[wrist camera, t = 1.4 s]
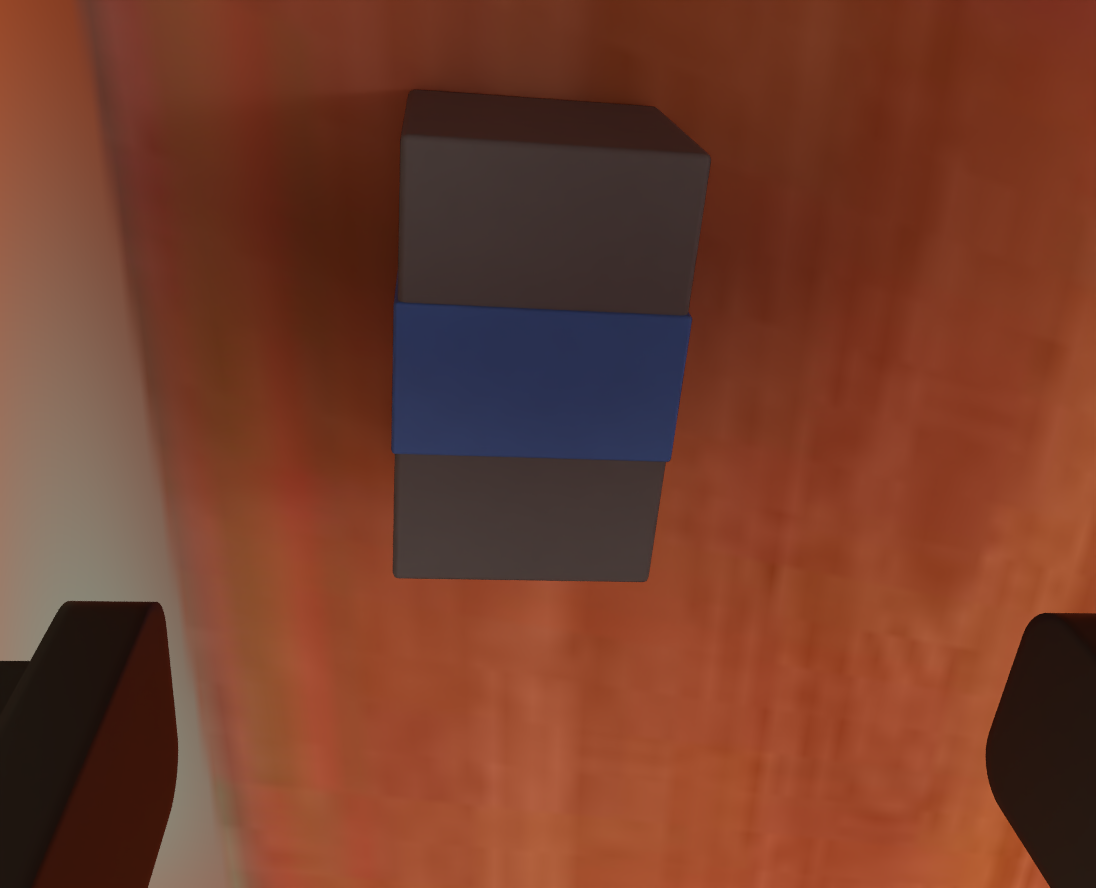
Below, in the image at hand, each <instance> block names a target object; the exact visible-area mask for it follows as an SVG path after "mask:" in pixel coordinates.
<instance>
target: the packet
mask: <svg viewBox="0 0 1096 888" xmlns="http://www.w3.org/2000/svg"><path fill="white" fill-rule="evenodd" d="M710 164H711V159H710V155H709V154H708V153H706V152H705V151H704V150H703V149H702V148H701V147H700V146H699V145H698V144H696V143H695V142H694V141H693V140H692V139H691V138H690V137H689V136H688V135H686V134H685V133H684V132H683V131H682V130H681V129H680V128H679V127H678V126H676V125H675V124H674V123H673V122H672V121H671V120H670V119H669V118H667V117H666V116H665V115H664V114H663V113H662V112H661V111H660V110H659V109H657V108H656V107H652V106H638V105H624V104H610V103H596V102H582V101H568V100H554V99H540V98H526V97H512V96H498V95H484V94H470V93H456V92H442V91H428V90H411V91H410V92H409V94H408V99H407V105H406V110H405V116H404V122H403V128H402V134H401V139H400V189H399V246H398V273H397V281H396V290H395V298H394V316H393V379H392V442H391V450H392V453H394V454H395V474H394V531H393V574H394V576H395V577H396V578H415V579H480V580H546V581H611V582H645V581H647V579H648V577H649V570H650V564H651V557H652V550H653V544H654V537H655V530H656V524H657V517H658V510H659V504H660V497H661V490H662V484H663V477H664V470H665V464H666V462H669V461H670V459H671V455H672V448H673V442H674V435H675V429H676V422H677V415H678V409H679V402H680V396H681V389H682V383H683V376H684V370H685V363H686V356H687V350H688V343H689V337H690V330H691V324H692V317H691V315H690V314H689V312H688V310H689V304H690V297H691V290H692V284H693V277H694V270H695V264H696V257H697V250H698V244H699V237H700V230H701V224H702V217H703V210H704V204H705V197H706V190H707V184H708V177H709V170H710Z"/></svg>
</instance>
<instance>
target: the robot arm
mask: <svg viewBox="0 0 1096 888" xmlns="http://www.w3.org/2000/svg"><path fill="white" fill-rule="evenodd" d="M177 766H178V737H177V727H176V716H175V707H174V697H173V688H172V677H171V667H170V658H169V648H168V639H167V629H166V621H165V615H164V612H163V609H162V606H161V605H160V604H159V603H158V602H109V601H107V602H104V601H67V602H66V603H64V604H63V605H62V606H61V607H60V609H59V610H58V612H57V613H56V615H55V617H54V619H53V621H52V622H51V624H50V626H49V628H48V630H47V632H46V633H45V635H44V637H43V639H42V641H41V643H40V644H39V646H38V648H37V650H36V651H35V653H34V655H33V657H32V659H31V661H0V888H148V885H149V882H150V878H151V875H152V872H153V869H154V865H155V862H156V859H157V855H158V852H159V849H160V845H161V842H162V838H163V835H164V832H165V829H166V825H167V822H168V818H169V815H170V811H171V808H172V803H173V798H174V792H175V786H176V778H177ZM986 768H987V775H988V779H989V784H990V787H991V790H992V793H993V795H994V797H995V800H996V802H997V804H998V805H999V807H1000V809H1001V810H1002V812H1003V813H1004V815H1005V817H1006V818H1007V820H1008V821H1009V823H1010V825H1011V826H1012V828H1013V829H1014V831H1015V832H1016V834H1017V836H1018V837H1019V839H1020V840H1021V842H1022V843H1023V845H1024V847H1025V848H1026V850H1027V851H1028V853H1029V854H1030V856H1031V858H1032V859H1033V861H1034V862H1035V864H1036V866H1037V867H1038V869H1039V870H1040V872H1041V873H1042V875H1043V877H1044V878H1045V880H1046V881H1047V883H1048V884H1049V886H1050V888H1096V614H1092V613H1043V614H1039V615H1038V616H1036V617H1034V618H1033V619H1032V620H1031V621H1030V622H1029V624H1028V626H1027V627H1026V629H1025V631H1024V634H1023V636H1022V639H1021V642H1020V645H1019V648H1018V651H1017V654H1016V657H1015V659H1014V662H1013V665H1012V668H1011V671H1010V674H1009V677H1008V680H1007V683H1006V685H1005V688H1004V691H1003V694H1002V697H1001V700H1000V703H999V706H998V709H997V711H996V714H995V717H994V720H993V723H992V726H991V729H990V732H989V735H988V739H987V745H986Z"/></svg>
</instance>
